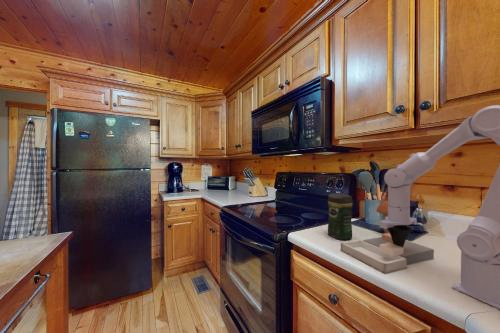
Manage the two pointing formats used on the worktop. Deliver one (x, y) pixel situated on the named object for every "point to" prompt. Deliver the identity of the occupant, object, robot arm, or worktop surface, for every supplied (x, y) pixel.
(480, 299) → the robot arm
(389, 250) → the cream tile
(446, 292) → the worktop surface
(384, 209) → the mushroom
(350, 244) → the grey bin
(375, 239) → the slate board
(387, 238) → the terracotta tile
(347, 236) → the coffee jar
